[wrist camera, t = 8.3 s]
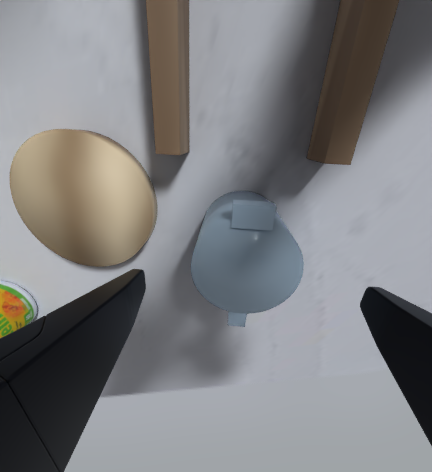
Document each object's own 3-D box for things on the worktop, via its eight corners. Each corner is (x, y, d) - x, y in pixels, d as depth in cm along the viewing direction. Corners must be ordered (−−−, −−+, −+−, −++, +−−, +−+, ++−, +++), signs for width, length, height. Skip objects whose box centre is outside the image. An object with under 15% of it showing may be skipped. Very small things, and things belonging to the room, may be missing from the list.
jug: (287, 183, 15) (320, 209, 10) (268, 286, 19) (284, 347, 14) (204, 178, 16) (190, 201, 10) (201, 281, 19) (190, 339, 14)
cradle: (407, -158, 9) (483, -282, 6) (327, 159, 15) (350, 164, 12) (157, -161, 10) (128, -280, 7) (169, 150, 15) (155, 153, 12)
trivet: (152, 133, 14) (144, 133, 13) (160, 261, 19) (155, 271, 17) (8, 126, 15) (-14, 124, 13) (48, 253, 19) (34, 262, 18)
